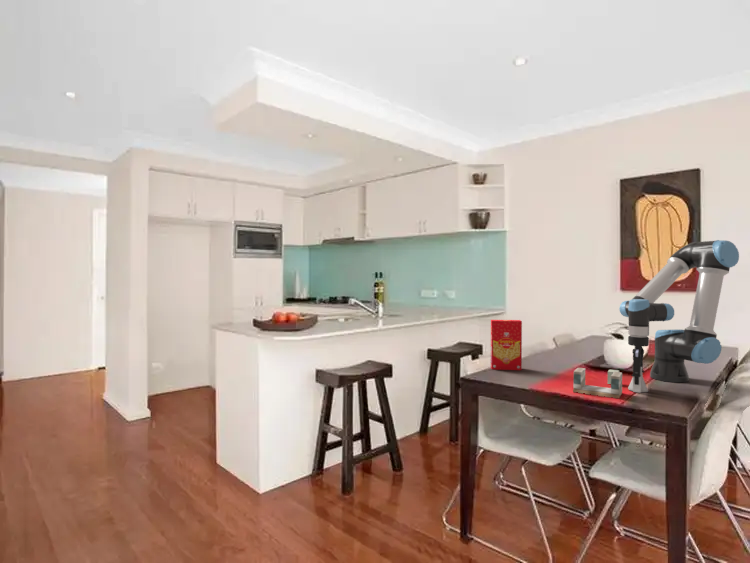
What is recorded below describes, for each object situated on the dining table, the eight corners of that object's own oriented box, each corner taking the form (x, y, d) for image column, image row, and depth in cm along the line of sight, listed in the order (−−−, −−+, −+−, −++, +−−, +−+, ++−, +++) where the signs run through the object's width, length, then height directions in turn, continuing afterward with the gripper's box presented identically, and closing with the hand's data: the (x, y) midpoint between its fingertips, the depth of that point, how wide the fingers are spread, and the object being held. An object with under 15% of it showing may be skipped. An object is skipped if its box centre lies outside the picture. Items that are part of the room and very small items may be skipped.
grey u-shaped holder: (622, 393, 187) (622, 372, 187) (619, 398, 179) (619, 377, 179) (577, 386, 197) (578, 367, 197) (573, 392, 189) (573, 371, 189)
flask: (624, 388, 194) (624, 365, 194) (640, 388, 195) (640, 365, 195) (635, 393, 187) (635, 369, 187) (651, 392, 188) (652, 368, 187)
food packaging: (491, 369, 232) (491, 320, 231) (490, 367, 237) (490, 319, 237) (521, 370, 230) (521, 321, 229) (519, 368, 235) (520, 320, 234)
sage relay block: (619, 383, 203) (619, 370, 202) (617, 386, 199) (617, 372, 198) (609, 382, 205) (609, 369, 205) (607, 384, 201) (607, 371, 201)
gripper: (630, 332, 201) (630, 383, 202) (625, 338, 184) (624, 394, 185) (650, 333, 197) (649, 385, 197) (646, 339, 180) (646, 396, 181)
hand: (637, 389), depth 191 cm, fingers closed on flask, 7 cm apart
